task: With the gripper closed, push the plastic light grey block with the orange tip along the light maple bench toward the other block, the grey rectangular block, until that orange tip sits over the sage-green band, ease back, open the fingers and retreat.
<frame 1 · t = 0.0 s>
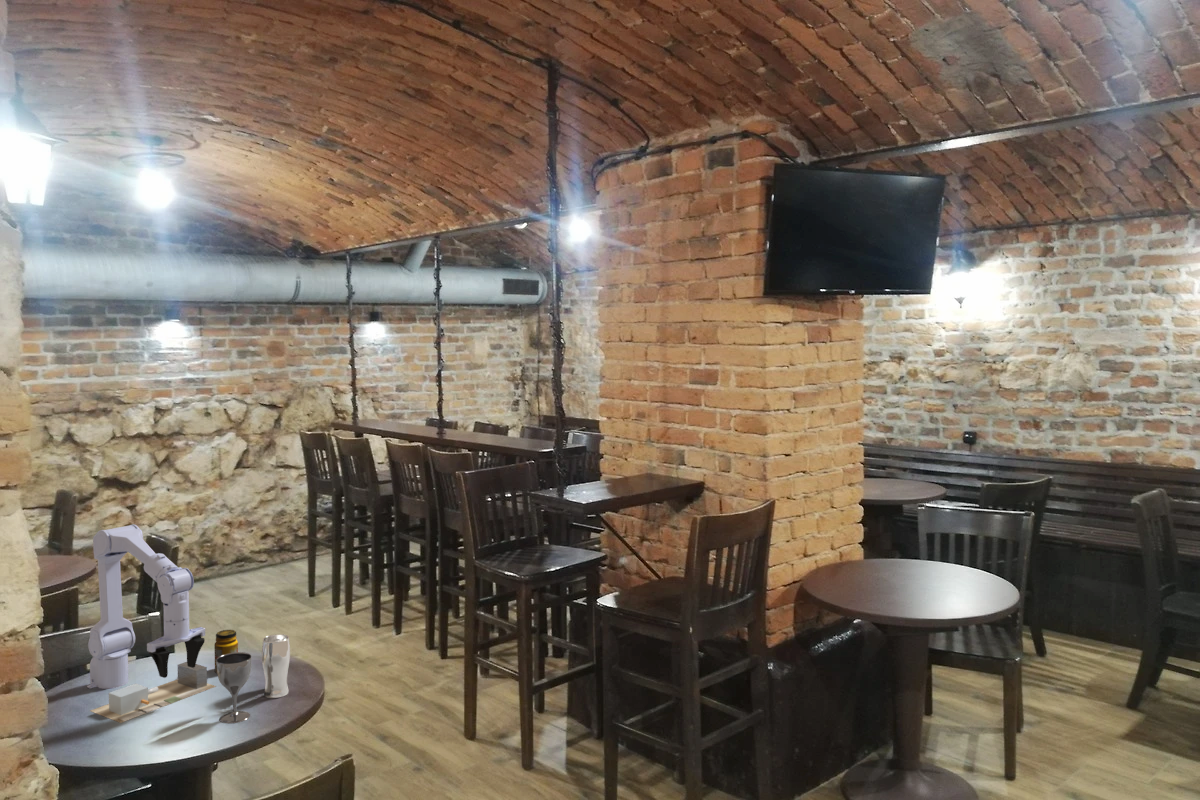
hand: (177, 671, 217), 10 cm above the table, fingers open, 7 cm apart
light grey block: (139, 697, 217), point 3 cm above the table, slide at 0.0 cm
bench: (155, 702, 223), on the table
grey rectangular block: (192, 684, 232), resting on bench
beer glass: (276, 694, 229), on the table
wine glass: (234, 717, 215), on the table
condiment: (223, 675, 241), on the table
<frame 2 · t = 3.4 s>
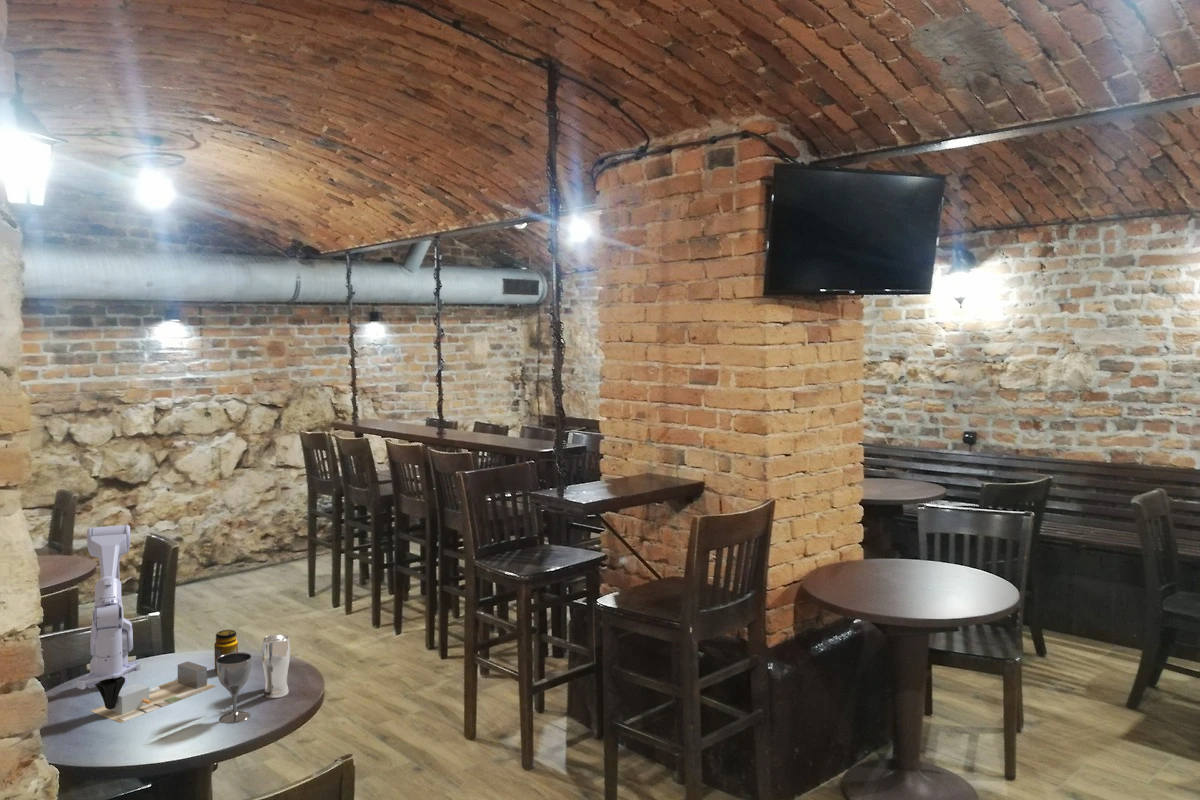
hand: (110, 707, 212), 3 cm above the table, fingers closed
light grey block: (140, 696, 218), point 3 cm above the table, slide at 0.3 cm, touching gripper
everything else where it was.
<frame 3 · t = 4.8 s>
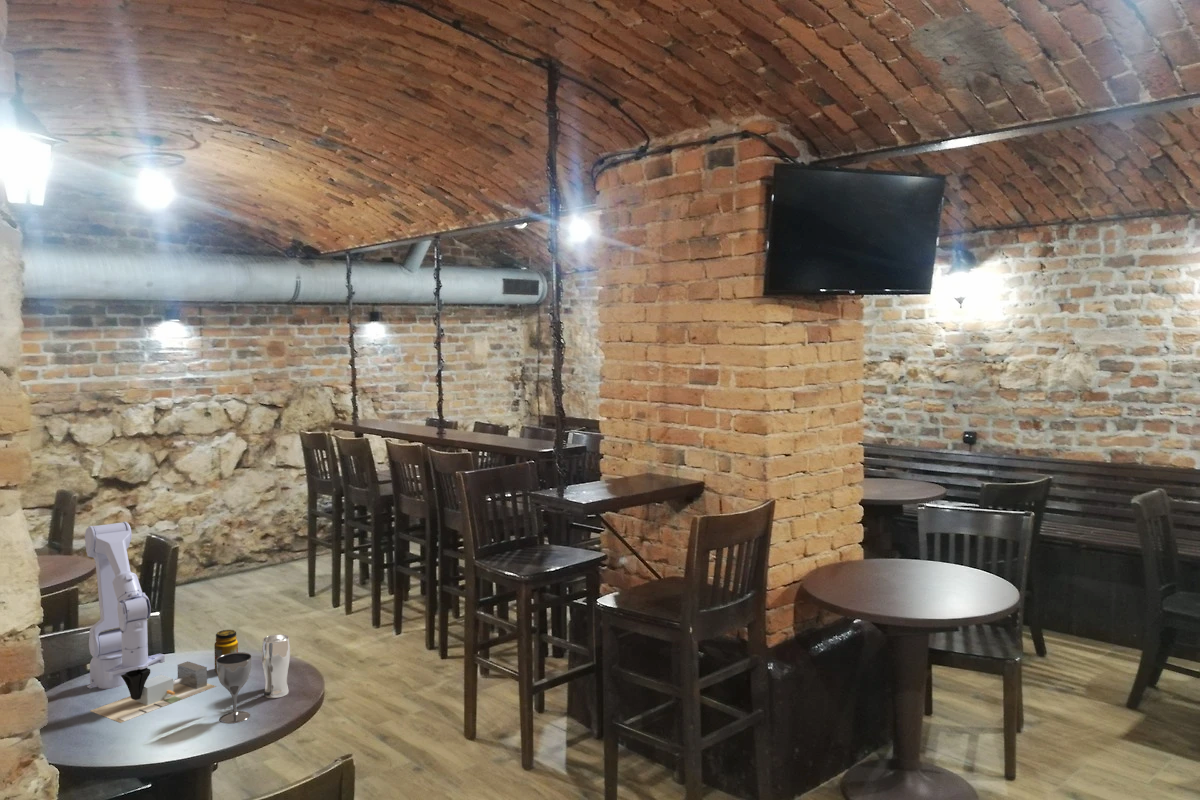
hand: (136, 698, 218), 3 cm above the table, fingers closed
light grey block: (164, 688, 223), point 3 cm above the table, slide at 6.9 cm, touching gripper
everything else where it was.
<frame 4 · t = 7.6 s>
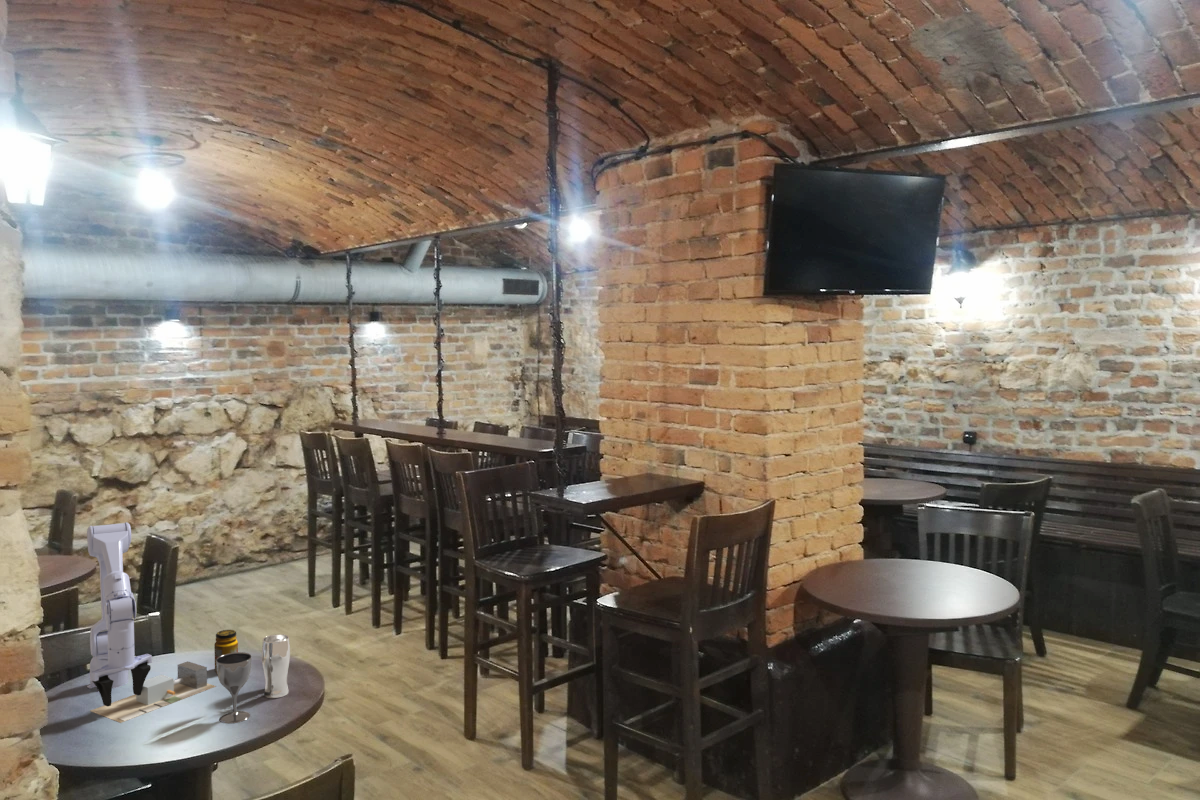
hand: (122, 699, 215), 4 cm above the table, fingers open, 7 cm apart
light grey block: (165, 687, 223), point 3 cm above the table, slide at 6.9 cm
everything else where it was.
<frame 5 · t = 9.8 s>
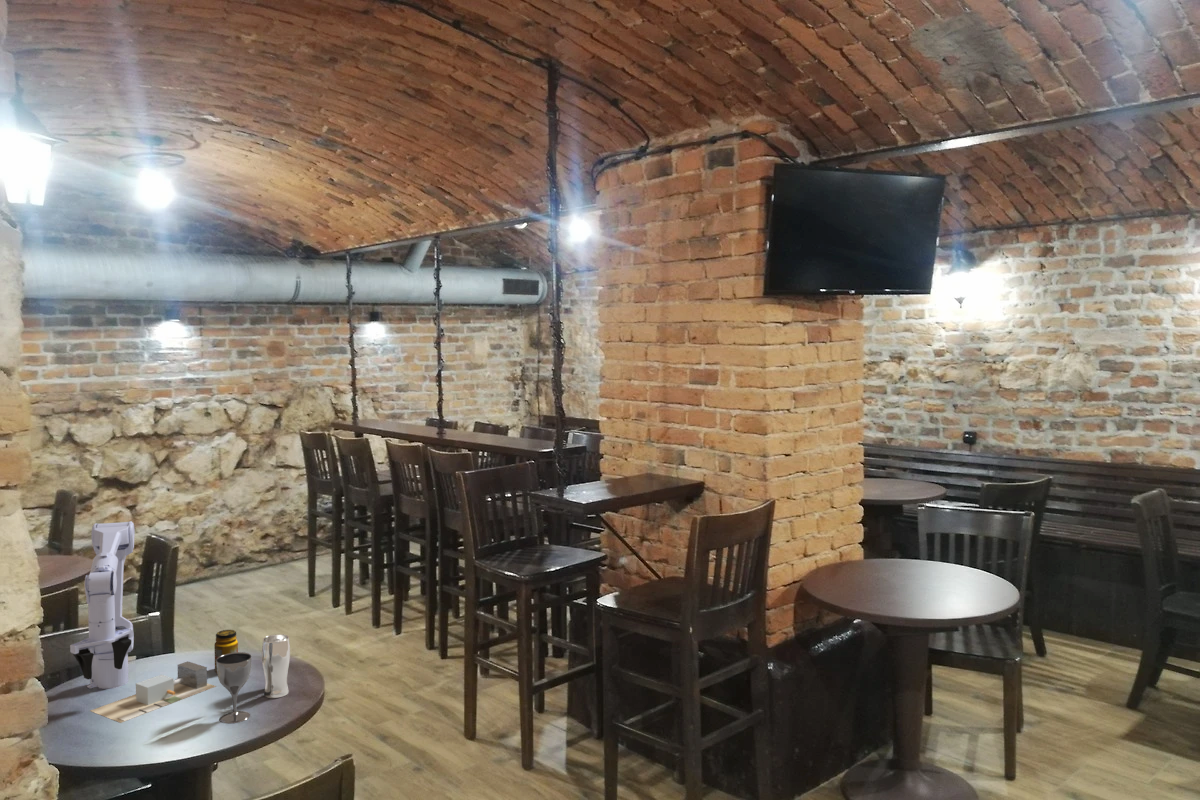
hand: (103, 673, 216), 10 cm above the table, fingers open, 7 cm apart
nothing on the table moved.
at the end: light grey block slide at 6.9 cm; light grey block touching nothing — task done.
